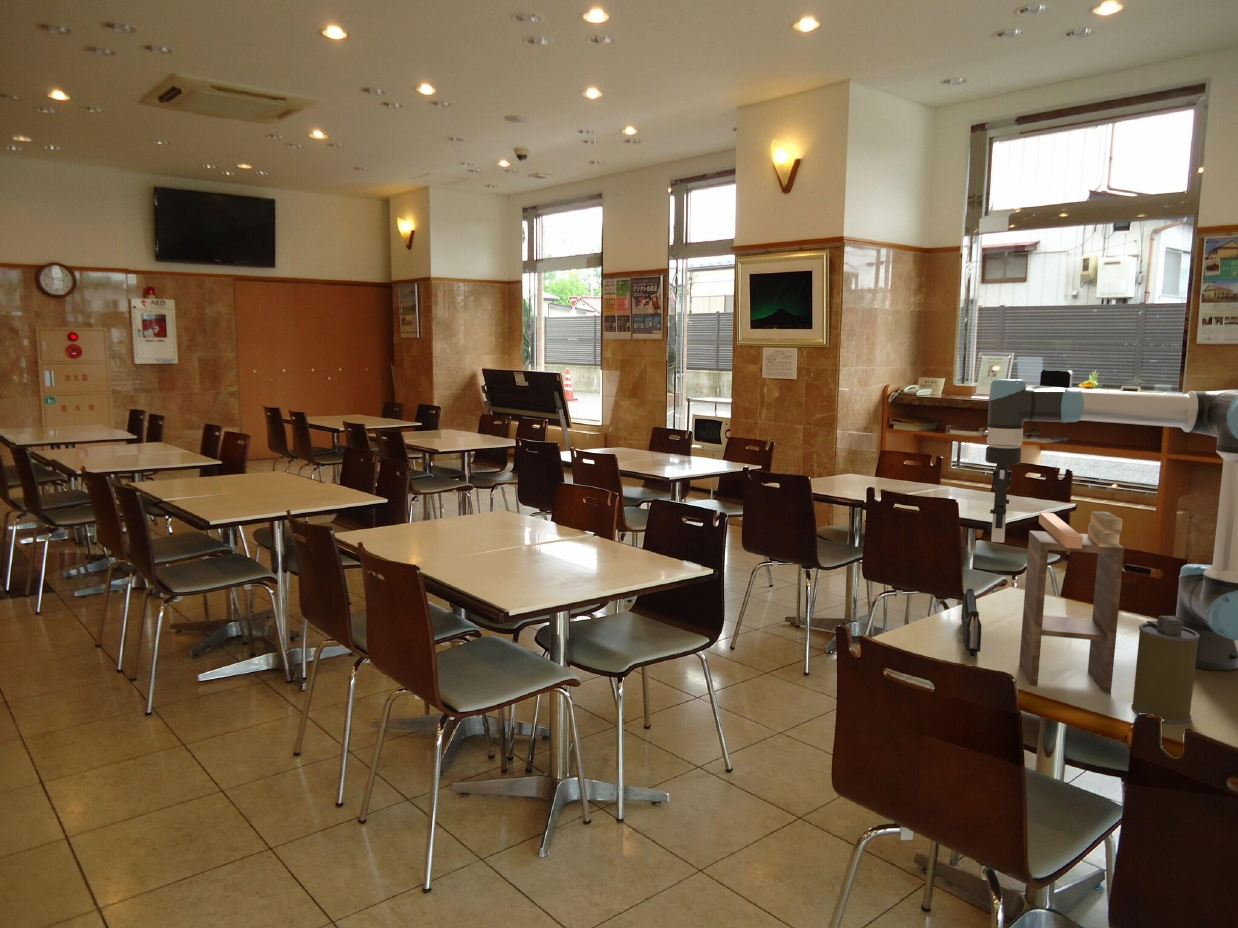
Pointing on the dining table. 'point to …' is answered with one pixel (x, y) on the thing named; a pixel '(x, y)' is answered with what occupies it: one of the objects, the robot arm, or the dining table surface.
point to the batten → (1060, 530)
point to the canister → (1165, 669)
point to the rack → (1096, 630)
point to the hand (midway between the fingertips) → (998, 536)
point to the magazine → (970, 623)
